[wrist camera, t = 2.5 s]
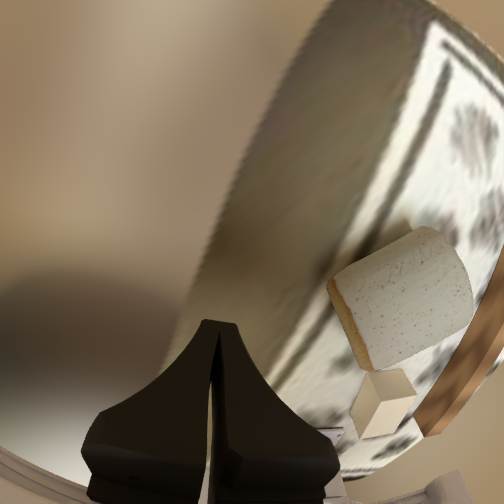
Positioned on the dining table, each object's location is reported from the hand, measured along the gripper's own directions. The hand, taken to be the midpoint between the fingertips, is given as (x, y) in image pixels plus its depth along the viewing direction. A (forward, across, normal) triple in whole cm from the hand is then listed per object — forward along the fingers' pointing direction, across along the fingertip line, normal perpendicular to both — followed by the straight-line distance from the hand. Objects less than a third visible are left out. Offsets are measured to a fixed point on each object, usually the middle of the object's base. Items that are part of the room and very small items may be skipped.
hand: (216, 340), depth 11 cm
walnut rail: (+9, -27, +5) cm, 29 cm away
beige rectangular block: (+9, -17, +12) cm, 23 cm away
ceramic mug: (+9, -12, +1) cm, 15 cm away
